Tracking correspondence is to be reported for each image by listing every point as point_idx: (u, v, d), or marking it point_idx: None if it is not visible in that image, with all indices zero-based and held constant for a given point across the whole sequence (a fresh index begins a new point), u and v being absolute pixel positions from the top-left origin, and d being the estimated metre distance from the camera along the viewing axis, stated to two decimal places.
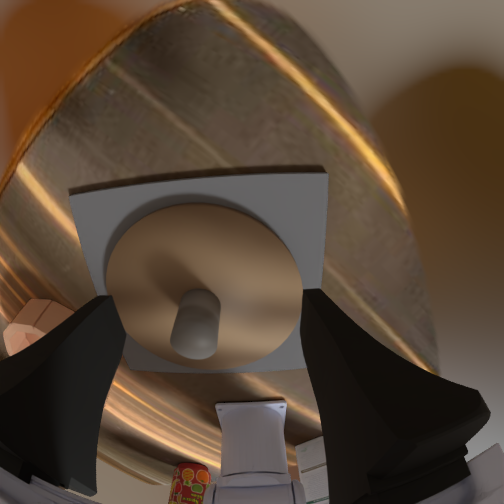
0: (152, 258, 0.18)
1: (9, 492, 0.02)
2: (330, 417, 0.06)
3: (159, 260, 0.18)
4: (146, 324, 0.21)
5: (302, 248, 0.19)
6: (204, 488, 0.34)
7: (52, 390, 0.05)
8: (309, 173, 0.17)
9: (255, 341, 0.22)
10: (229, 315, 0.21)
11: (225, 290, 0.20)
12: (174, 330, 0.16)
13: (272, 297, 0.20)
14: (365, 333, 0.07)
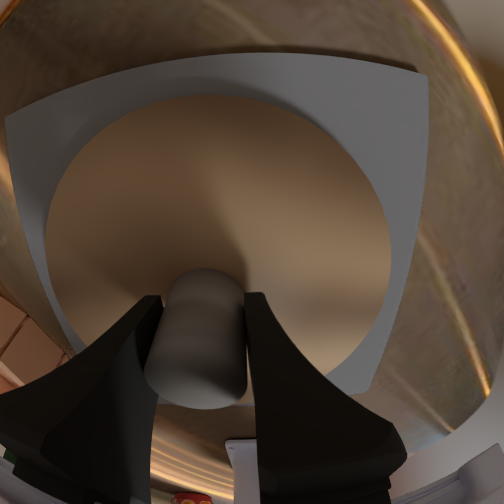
0: (117, 207, 0.09)
1: (9, 492, 0.02)
2: None
3: (130, 211, 0.09)
4: None
5: (392, 196, 0.10)
6: None
7: (113, 403, 0.05)
8: (401, 69, 0.08)
9: None
10: None
11: (256, 272, 0.10)
12: (151, 354, 0.07)
13: (340, 285, 0.11)
14: (288, 342, 0.07)
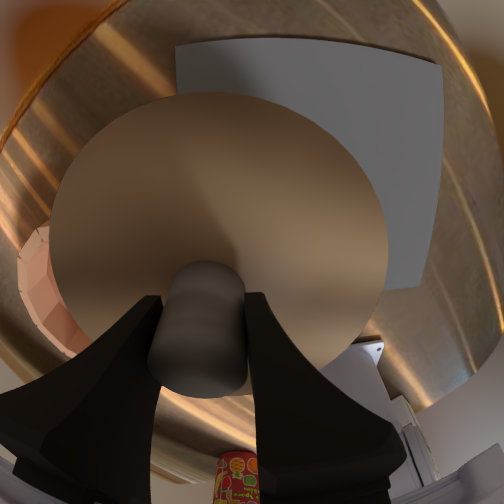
0: (122, 200, 0.09)
1: (9, 492, 0.02)
2: None
3: (135, 203, 0.09)
4: None
5: (427, 129, 0.15)
6: (257, 480, 0.30)
7: (113, 403, 0.05)
8: (428, 62, 0.13)
9: None
10: None
11: (257, 265, 0.11)
12: (155, 343, 0.07)
13: (338, 279, 0.11)
14: (288, 342, 0.07)
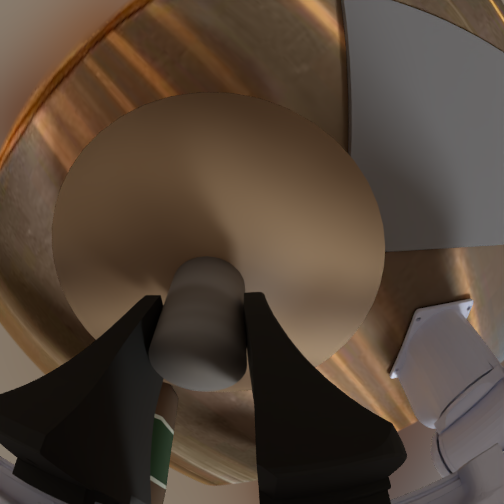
0: (127, 194, 0.09)
1: (9, 492, 0.02)
2: None
3: (139, 198, 0.09)
4: (114, 318, 0.12)
5: None
6: None
7: (113, 403, 0.05)
8: None
9: None
10: None
11: (257, 262, 0.11)
12: (157, 335, 0.07)
13: (335, 278, 0.11)
14: (288, 342, 0.07)
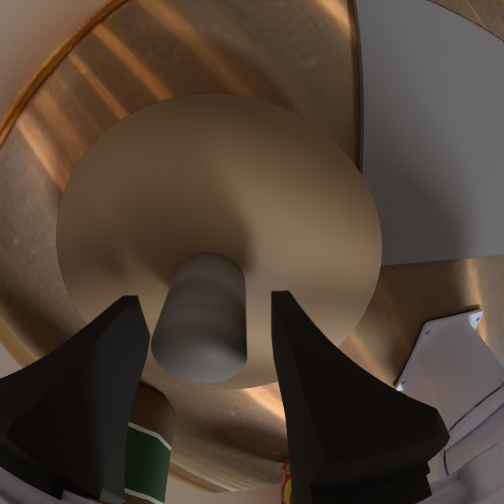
0: (131, 191, 0.10)
1: (9, 492, 0.02)
2: (290, 422, 0.06)
3: (143, 195, 0.10)
4: None
5: None
6: None
7: (83, 397, 0.05)
8: None
9: None
10: (258, 304, 0.12)
11: (257, 257, 0.11)
12: (159, 325, 0.08)
13: (334, 274, 0.12)
14: (324, 338, 0.07)
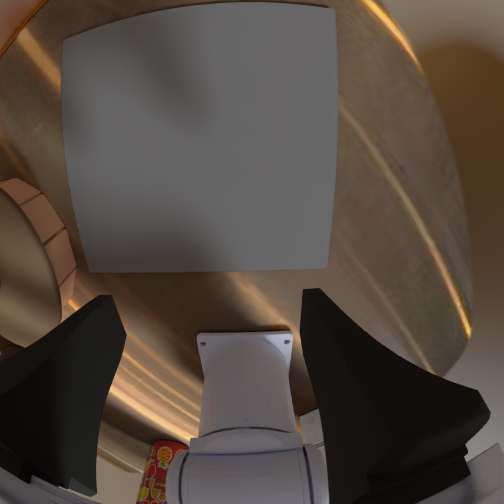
0: None
1: (9, 492, 0.02)
2: (330, 417, 0.06)
3: None
4: None
5: (312, 77, 0.14)
6: None
7: (52, 390, 0.05)
8: (315, 7, 0.12)
9: (34, 322, 0.16)
10: (7, 288, 0.15)
11: None
12: None
13: (26, 274, 0.14)
14: (365, 333, 0.07)
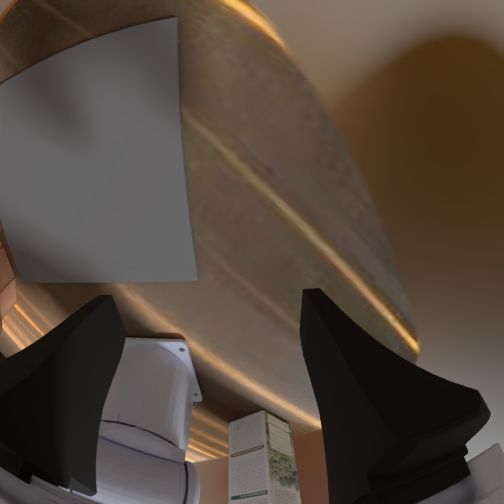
0: None
1: (9, 492, 0.02)
2: (330, 417, 0.06)
3: None
4: None
5: (152, 94, 0.14)
6: None
7: (52, 390, 0.05)
8: (157, 21, 0.12)
9: None
10: None
11: None
12: None
13: None
14: (365, 333, 0.07)
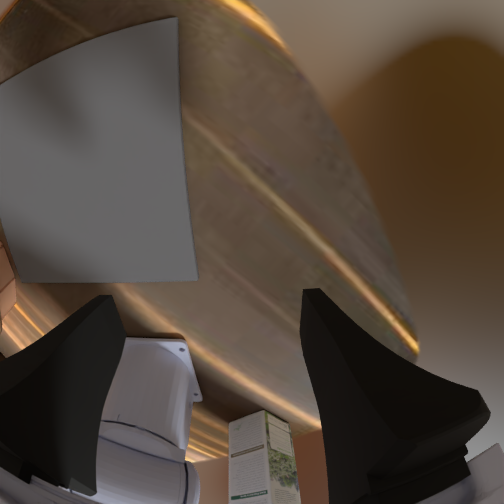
0: None
1: (9, 492, 0.02)
2: (330, 417, 0.06)
3: None
4: None
5: (152, 94, 0.14)
6: None
7: (52, 390, 0.05)
8: (157, 21, 0.12)
9: None
10: None
11: None
12: None
13: None
14: (365, 333, 0.07)
